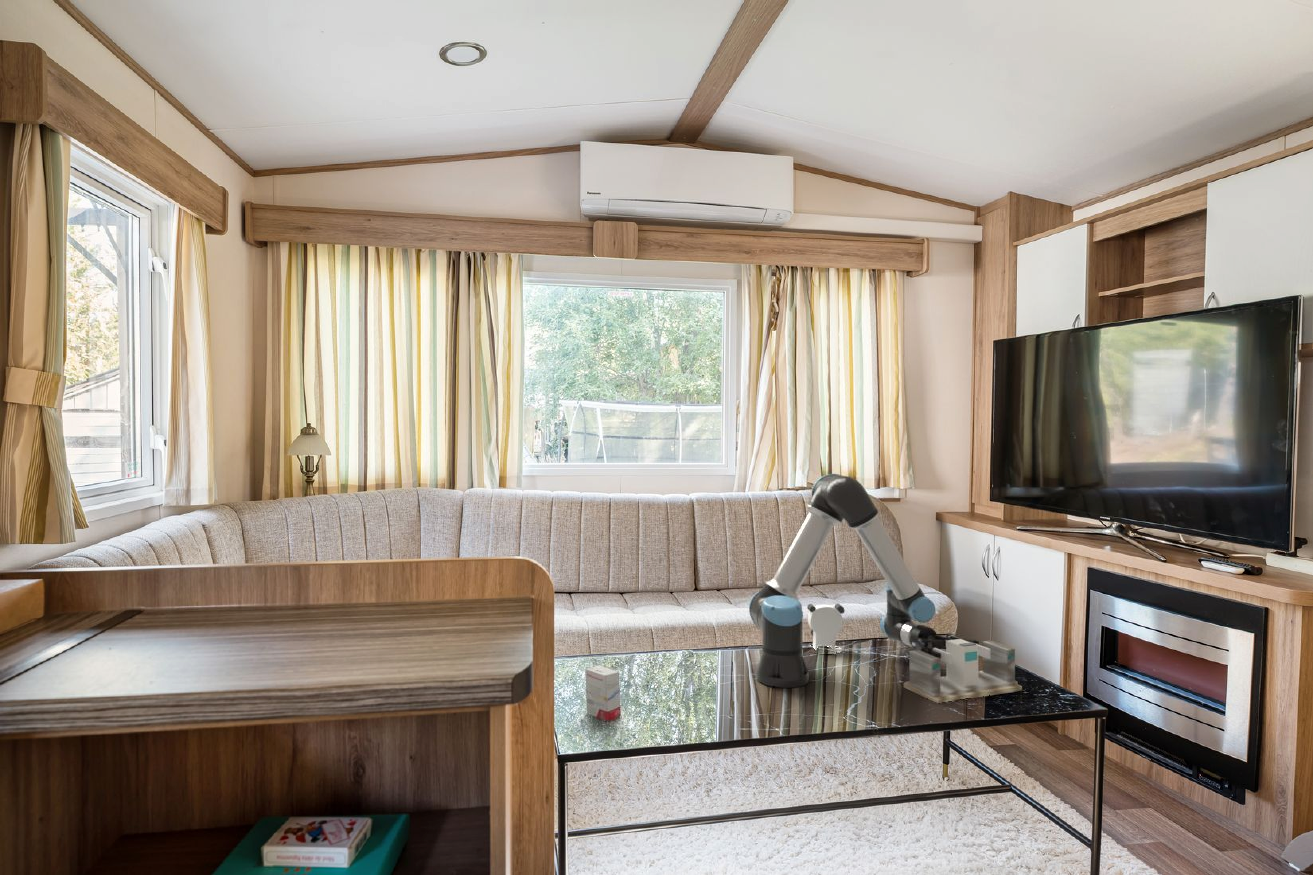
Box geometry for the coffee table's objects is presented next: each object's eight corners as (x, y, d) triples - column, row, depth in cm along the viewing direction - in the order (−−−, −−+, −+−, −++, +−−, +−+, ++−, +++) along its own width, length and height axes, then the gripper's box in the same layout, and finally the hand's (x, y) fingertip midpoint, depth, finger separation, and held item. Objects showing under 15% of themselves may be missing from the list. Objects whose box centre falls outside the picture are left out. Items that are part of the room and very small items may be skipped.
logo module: (964, 686, 210) (964, 646, 209) (946, 678, 216) (946, 639, 216) (978, 684, 211) (978, 644, 211) (960, 676, 218) (960, 637, 218)
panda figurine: (838, 644, 258) (838, 600, 258) (848, 654, 246) (848, 608, 246) (803, 645, 257) (803, 601, 257) (812, 655, 246) (811, 609, 246)
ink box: (621, 717, 194) (621, 671, 194) (606, 722, 191) (606, 676, 191) (599, 708, 201) (599, 664, 200) (584, 713, 197) (584, 668, 197)
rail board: (937, 703, 202) (937, 662, 202) (903, 686, 216) (903, 648, 215) (1021, 690, 212) (1021, 651, 212) (984, 674, 225) (984, 638, 225)
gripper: (952, 644, 235) (1005, 664, 215) (885, 653, 227) (933, 675, 207) (952, 620, 235) (1005, 638, 215) (885, 628, 227) (933, 647, 207)
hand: (970, 656), depth 211 cm, fingers open, 13 cm apart
